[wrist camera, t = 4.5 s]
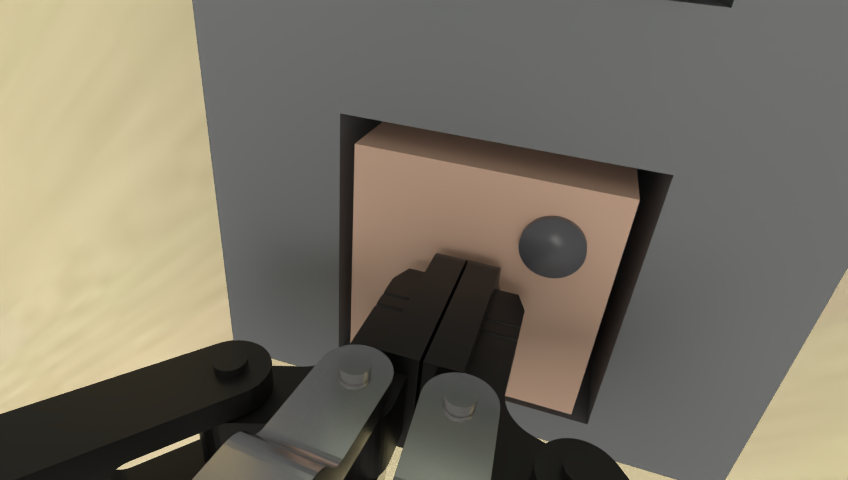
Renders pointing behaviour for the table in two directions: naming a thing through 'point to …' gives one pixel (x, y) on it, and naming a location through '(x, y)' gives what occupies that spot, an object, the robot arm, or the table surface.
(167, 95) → the table surface
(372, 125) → the console
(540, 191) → the tan block with dots
